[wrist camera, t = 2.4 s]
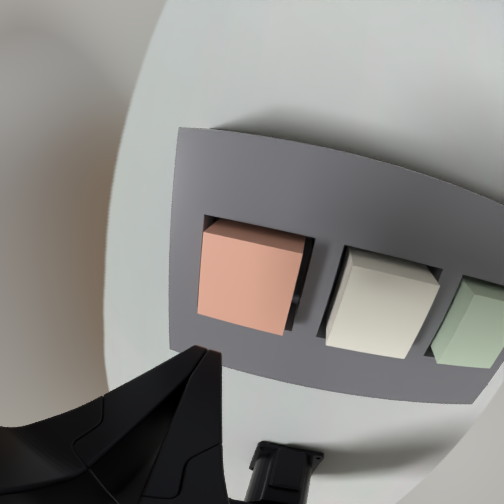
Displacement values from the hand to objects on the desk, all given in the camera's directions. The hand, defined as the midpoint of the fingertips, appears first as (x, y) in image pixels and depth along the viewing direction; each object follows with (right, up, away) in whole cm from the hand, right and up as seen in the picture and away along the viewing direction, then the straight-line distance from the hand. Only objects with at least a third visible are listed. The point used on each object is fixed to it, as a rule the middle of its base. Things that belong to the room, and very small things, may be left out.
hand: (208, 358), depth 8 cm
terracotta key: (+2, +3, +6) cm, 7 cm away
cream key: (+7, +1, +5) cm, 9 cm away
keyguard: (+8, +2, +7) cm, 11 cm away
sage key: (+13, 0, +4) cm, 14 cm away
